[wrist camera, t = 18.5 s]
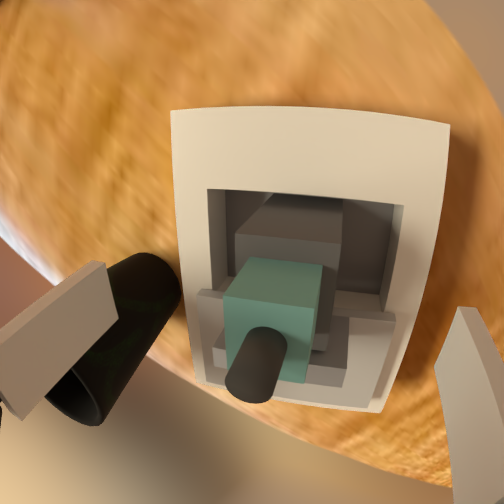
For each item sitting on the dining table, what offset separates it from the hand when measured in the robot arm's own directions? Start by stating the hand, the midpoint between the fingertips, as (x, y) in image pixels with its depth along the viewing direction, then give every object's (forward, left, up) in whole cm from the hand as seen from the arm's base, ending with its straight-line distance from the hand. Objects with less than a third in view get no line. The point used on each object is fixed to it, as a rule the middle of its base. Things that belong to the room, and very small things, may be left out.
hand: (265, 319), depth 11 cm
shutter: (+7, 0, -6) cm, 9 cm away
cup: (+6, -12, -10) cm, 17 cm away
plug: (0, 0, -9) cm, 9 cm away
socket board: (+2, 0, -10) cm, 10 cm away
